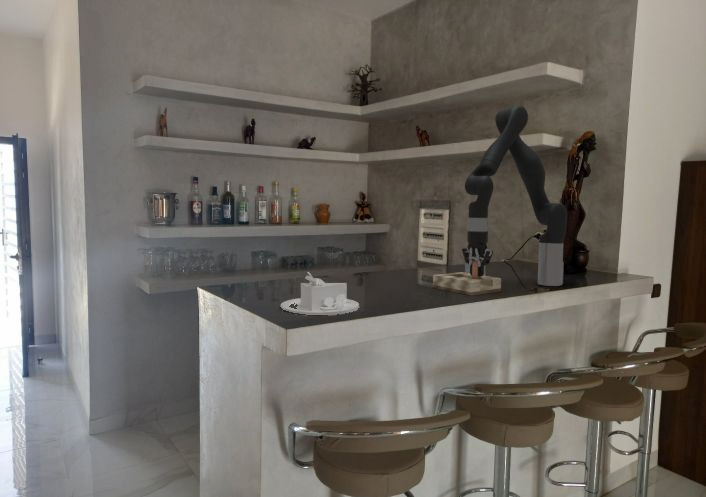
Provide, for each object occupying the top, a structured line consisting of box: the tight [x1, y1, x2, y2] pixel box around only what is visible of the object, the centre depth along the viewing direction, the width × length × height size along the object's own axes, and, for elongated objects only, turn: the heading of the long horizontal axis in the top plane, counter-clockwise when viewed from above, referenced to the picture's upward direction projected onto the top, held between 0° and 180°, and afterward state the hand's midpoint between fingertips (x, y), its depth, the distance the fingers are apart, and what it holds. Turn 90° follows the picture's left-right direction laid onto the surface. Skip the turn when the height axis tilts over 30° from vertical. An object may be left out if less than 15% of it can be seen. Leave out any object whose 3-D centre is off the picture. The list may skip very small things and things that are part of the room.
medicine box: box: [464, 262, 487, 276], centre depth 217 cm, size 8×4×9 cm, turn 65°
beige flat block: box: [432, 271, 502, 297], centre depth 197 cm, size 20×16×5 cm
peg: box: [472, 260, 481, 279], centre depth 192 cm, size 5×5×10 cm
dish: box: [280, 271, 360, 316], centre depth 162 cm, size 25×25×11 cm
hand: (476, 275), depth 192 cm, fingers closed on peg, 3 cm apart
